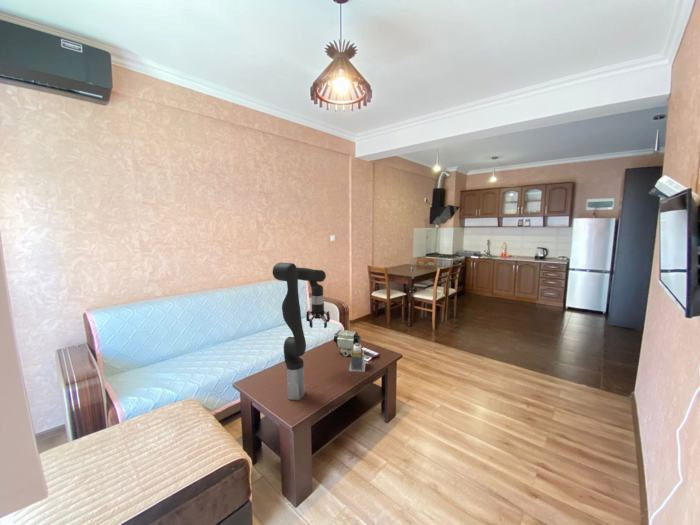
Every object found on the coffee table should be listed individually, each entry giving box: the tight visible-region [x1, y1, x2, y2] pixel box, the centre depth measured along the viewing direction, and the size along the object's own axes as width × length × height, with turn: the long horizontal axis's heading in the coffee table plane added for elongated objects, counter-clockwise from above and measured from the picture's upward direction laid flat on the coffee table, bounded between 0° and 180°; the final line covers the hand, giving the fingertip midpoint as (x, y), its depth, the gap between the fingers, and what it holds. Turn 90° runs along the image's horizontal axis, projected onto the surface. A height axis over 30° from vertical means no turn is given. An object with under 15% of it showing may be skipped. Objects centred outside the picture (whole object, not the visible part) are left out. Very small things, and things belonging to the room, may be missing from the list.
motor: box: [348, 346, 367, 373], centre depth 193 cm, size 12×10×12 cm
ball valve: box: [333, 329, 362, 357], centre depth 210 cm, size 18×8×18 cm, turn 73°
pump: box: [353, 343, 362, 352], centre depth 192 cm, size 5×5×7 cm
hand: (318, 327), depth 182 cm, fingers open, 8 cm apart
